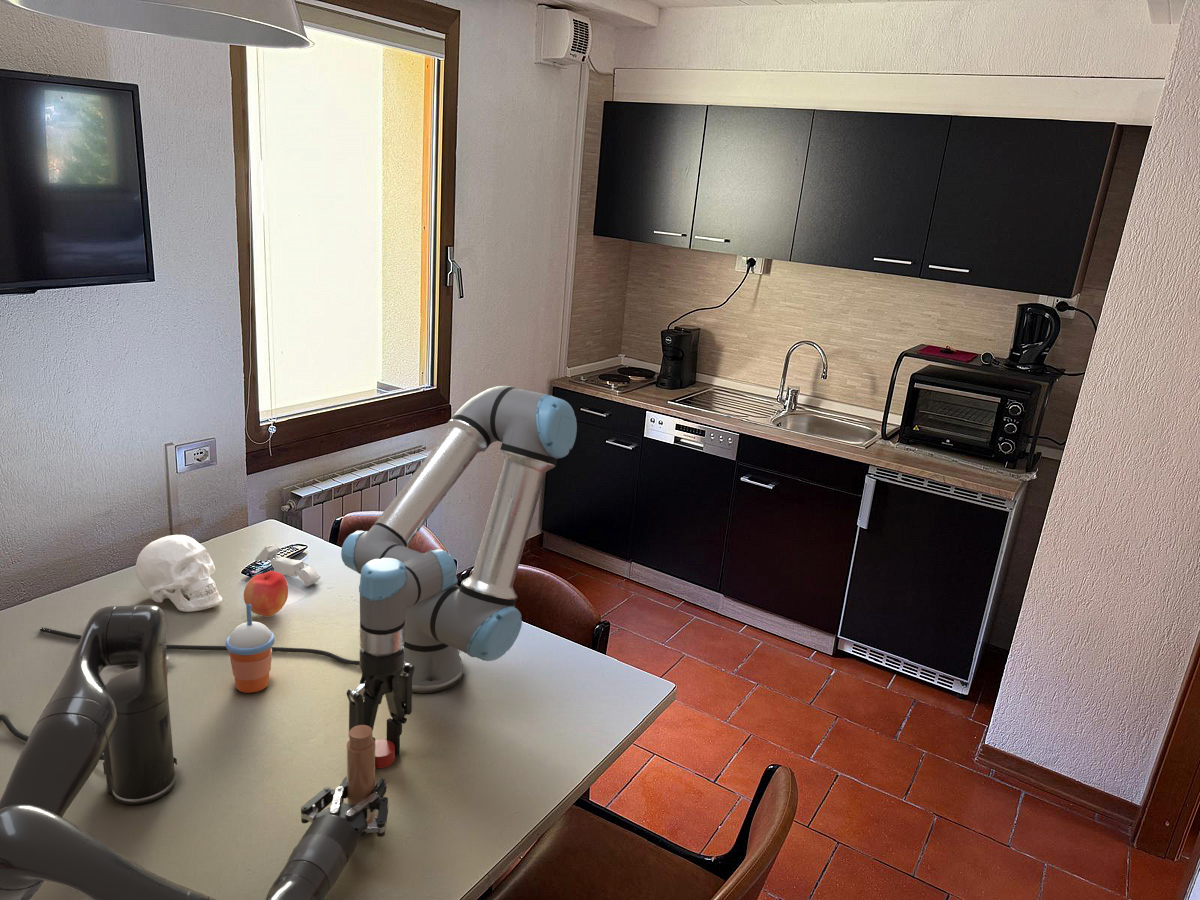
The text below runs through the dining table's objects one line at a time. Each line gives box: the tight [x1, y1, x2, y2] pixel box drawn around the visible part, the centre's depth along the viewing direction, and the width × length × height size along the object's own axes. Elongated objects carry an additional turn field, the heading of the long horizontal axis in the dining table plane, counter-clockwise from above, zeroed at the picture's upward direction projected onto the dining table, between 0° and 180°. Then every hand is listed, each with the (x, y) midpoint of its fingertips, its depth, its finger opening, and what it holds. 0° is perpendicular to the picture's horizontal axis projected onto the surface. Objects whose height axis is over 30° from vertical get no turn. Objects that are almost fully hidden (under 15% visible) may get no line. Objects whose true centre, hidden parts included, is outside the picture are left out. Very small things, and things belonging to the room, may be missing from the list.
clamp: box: [254, 544, 322, 587], centre depth 219 cm, size 20×4×7 cm, turn 62°
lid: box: [375, 739, 396, 769], centre depth 155 cm, size 5×5×2 cm
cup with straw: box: [225, 604, 276, 694], centre depth 171 cm, size 9×9×18 cm
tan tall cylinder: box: [346, 725, 376, 824], centre depth 136 cm, size 4×4×18 cm
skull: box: [135, 534, 223, 613], centre depth 202 cm, size 13×22×16 cm, turn 73°
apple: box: [243, 570, 289, 618], centre depth 199 cm, size 10×10×10 cm
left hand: (368, 780), depth 140 cm, fingers closed on tan tall cylinder, 4 cm apart
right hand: (380, 759), depth 155 cm, fingers open, 5 cm apart
